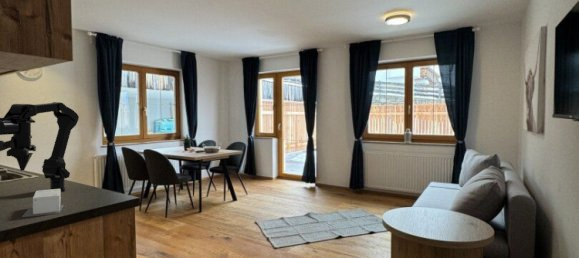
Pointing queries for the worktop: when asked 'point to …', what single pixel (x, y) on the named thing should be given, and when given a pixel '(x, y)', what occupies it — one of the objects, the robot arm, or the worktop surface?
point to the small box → (46, 201)
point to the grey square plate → (30, 213)
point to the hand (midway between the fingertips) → (22, 170)
